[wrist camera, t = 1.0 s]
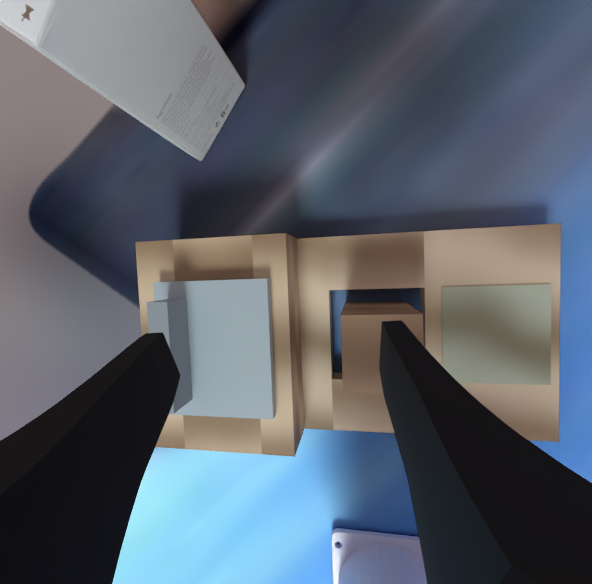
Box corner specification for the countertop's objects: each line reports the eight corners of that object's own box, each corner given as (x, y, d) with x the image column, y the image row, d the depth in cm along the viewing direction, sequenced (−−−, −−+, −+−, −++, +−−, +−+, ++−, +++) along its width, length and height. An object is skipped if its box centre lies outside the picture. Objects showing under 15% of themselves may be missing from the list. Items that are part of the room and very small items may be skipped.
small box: (248, 85, 24) (116, -132, 11) (202, 164, 25) (33, 51, 12) (161, 30, 24) (-55, -230, 12) (121, 108, 26) (-119, -53, 13)
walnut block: (406, 359, 23) (424, 394, 16) (347, 358, 24) (342, 391, 17) (405, 301, 23) (423, 314, 16) (345, 302, 23) (340, 315, 17)
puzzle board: (544, 429, 21) (599, 477, 16) (188, 413, 26) (149, 446, 21) (546, 226, 21) (604, 213, 16) (178, 247, 25) (135, 242, 20)
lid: (275, 414, 19) (263, 436, 17) (167, 409, 21) (140, 429, 18) (269, 278, 19) (256, 279, 16) (159, 282, 20) (130, 283, 18)
